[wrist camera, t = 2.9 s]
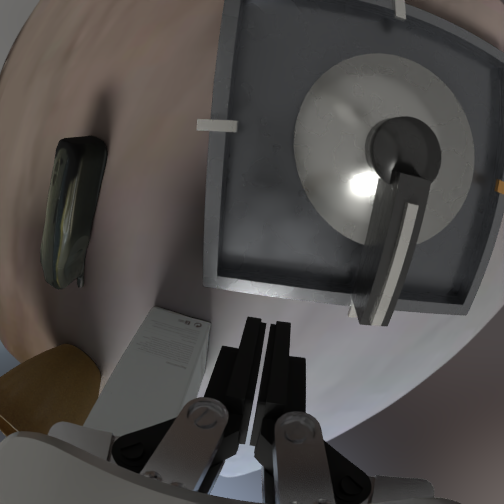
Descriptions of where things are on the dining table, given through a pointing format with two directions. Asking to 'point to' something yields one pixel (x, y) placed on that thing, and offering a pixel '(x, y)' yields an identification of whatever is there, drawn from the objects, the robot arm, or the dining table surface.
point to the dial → (383, 166)
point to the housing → (283, 161)
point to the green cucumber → (71, 208)
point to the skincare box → (153, 374)
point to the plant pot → (49, 391)
